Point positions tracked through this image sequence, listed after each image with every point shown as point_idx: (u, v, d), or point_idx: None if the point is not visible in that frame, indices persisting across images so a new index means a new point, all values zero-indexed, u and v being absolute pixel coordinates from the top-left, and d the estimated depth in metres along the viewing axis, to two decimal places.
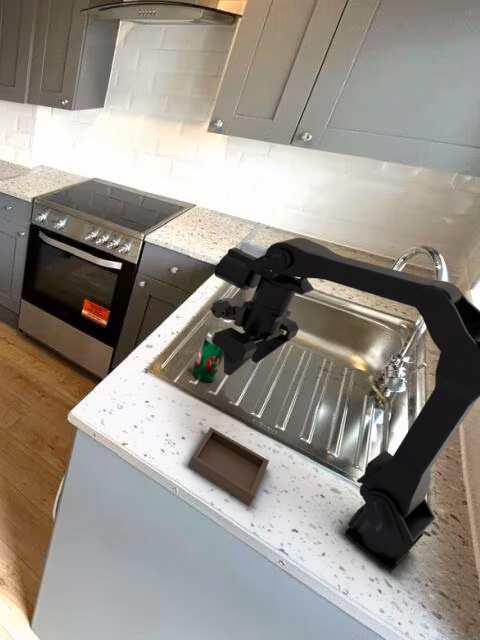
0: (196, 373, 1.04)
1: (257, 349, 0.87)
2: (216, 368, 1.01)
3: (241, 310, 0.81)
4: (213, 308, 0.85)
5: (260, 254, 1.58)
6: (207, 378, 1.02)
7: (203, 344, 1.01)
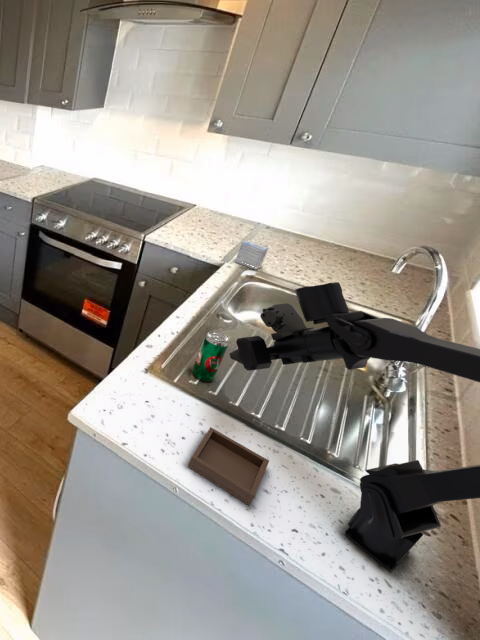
0: (196, 373, 1.04)
1: None
2: (216, 368, 1.01)
3: (287, 332, 0.81)
4: (265, 313, 0.83)
5: (260, 254, 1.58)
6: (207, 378, 1.02)
7: (203, 344, 1.01)
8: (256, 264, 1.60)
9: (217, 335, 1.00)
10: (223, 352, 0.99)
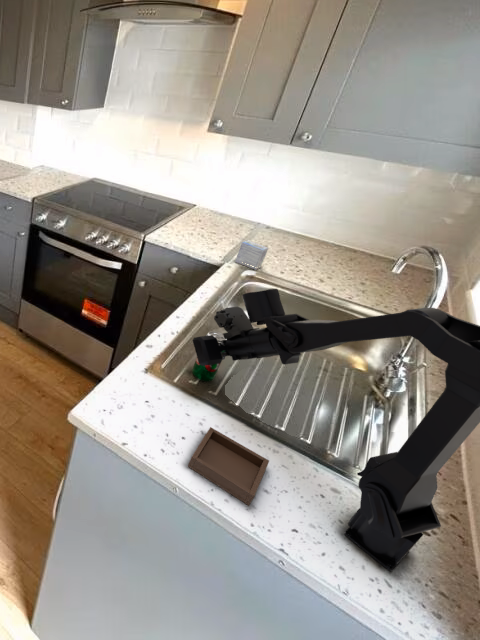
0: (196, 373, 1.04)
1: None
2: (216, 368, 1.01)
3: (235, 332, 0.92)
4: (217, 315, 0.94)
5: (260, 254, 1.58)
6: (207, 378, 1.02)
7: None
8: (256, 264, 1.60)
9: (217, 335, 1.00)
10: None
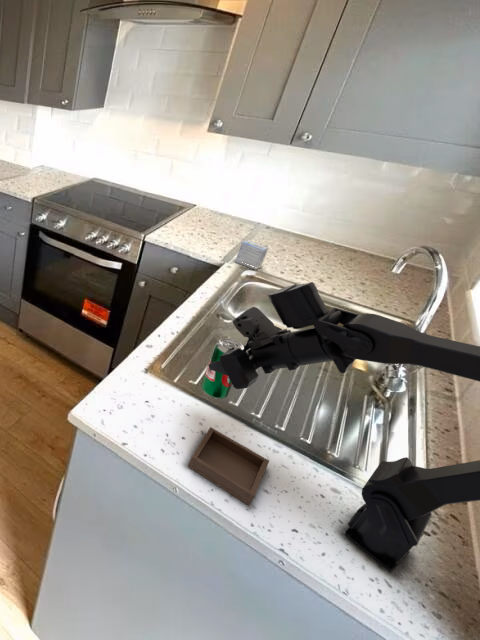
0: (210, 391, 0.86)
1: None
2: None
3: (266, 340, 0.75)
4: (241, 323, 0.77)
5: (260, 254, 1.58)
6: (224, 394, 0.86)
7: (216, 357, 0.84)
8: (256, 264, 1.60)
9: (230, 343, 0.84)
10: None
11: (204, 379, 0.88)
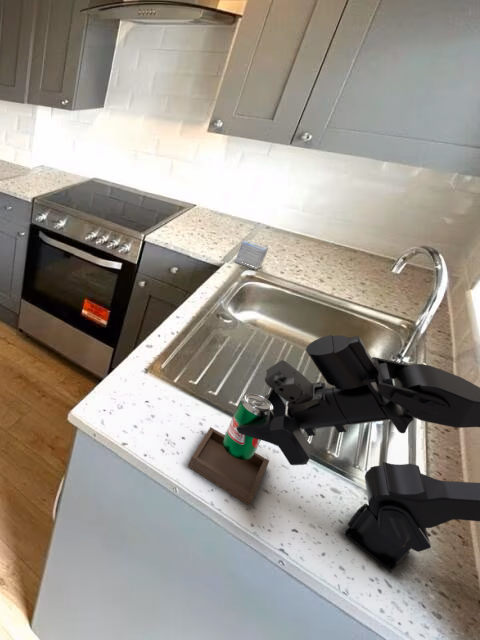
0: (239, 454, 0.77)
1: None
2: None
3: (311, 402, 0.67)
4: (283, 387, 0.67)
5: (260, 254, 1.58)
6: (252, 455, 0.77)
7: (246, 419, 0.74)
8: (256, 264, 1.60)
9: (256, 400, 0.74)
10: None
11: (229, 441, 0.78)
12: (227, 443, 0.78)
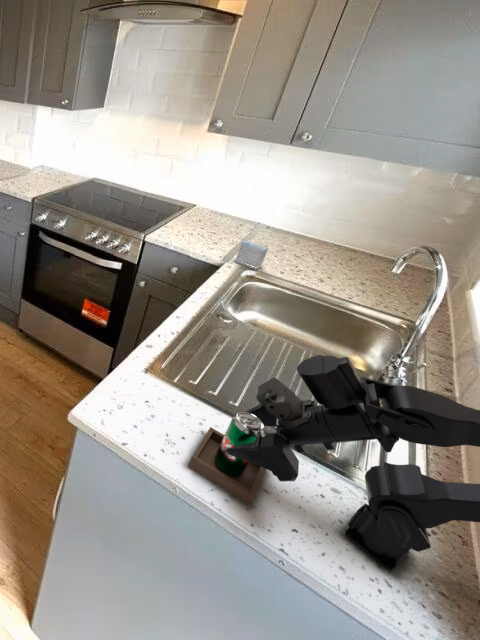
0: (230, 470, 0.79)
1: None
2: None
3: (300, 420, 0.69)
4: (274, 405, 0.69)
5: (260, 254, 1.58)
6: (243, 471, 0.79)
7: (237, 437, 0.76)
8: (256, 264, 1.60)
9: (247, 419, 0.76)
10: None
11: (220, 457, 0.80)
12: (219, 459, 0.80)
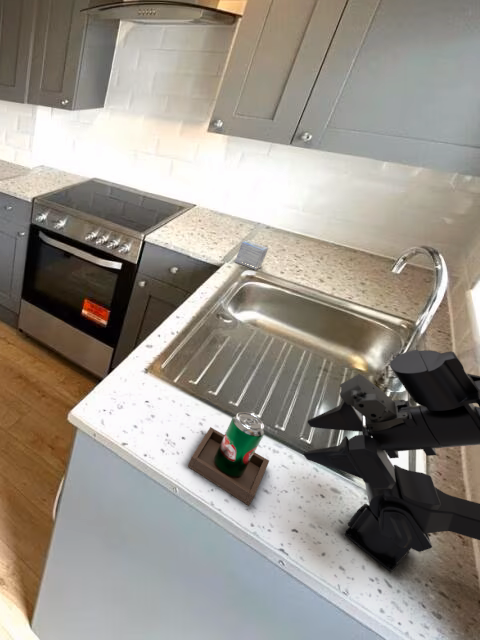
0: (230, 470, 0.79)
1: (326, 419, 0.73)
2: None
3: (394, 421, 0.61)
4: (364, 403, 0.62)
5: (260, 254, 1.58)
6: (243, 471, 0.79)
7: (237, 437, 0.76)
8: (256, 264, 1.60)
9: (247, 419, 0.76)
10: None
11: (220, 458, 0.80)
12: (219, 459, 0.80)
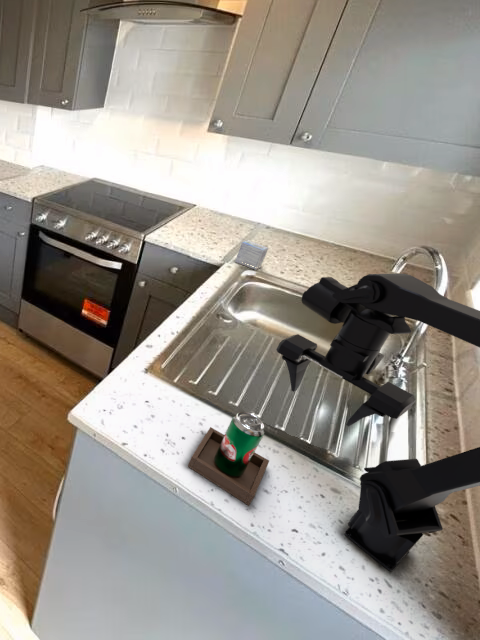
0: (230, 470, 0.79)
1: None
2: None
3: None
4: None
5: (260, 254, 1.58)
6: (243, 471, 0.79)
7: (237, 437, 0.76)
8: (256, 264, 1.60)
9: (247, 419, 0.76)
10: None
11: (220, 458, 0.80)
12: (219, 459, 0.80)
